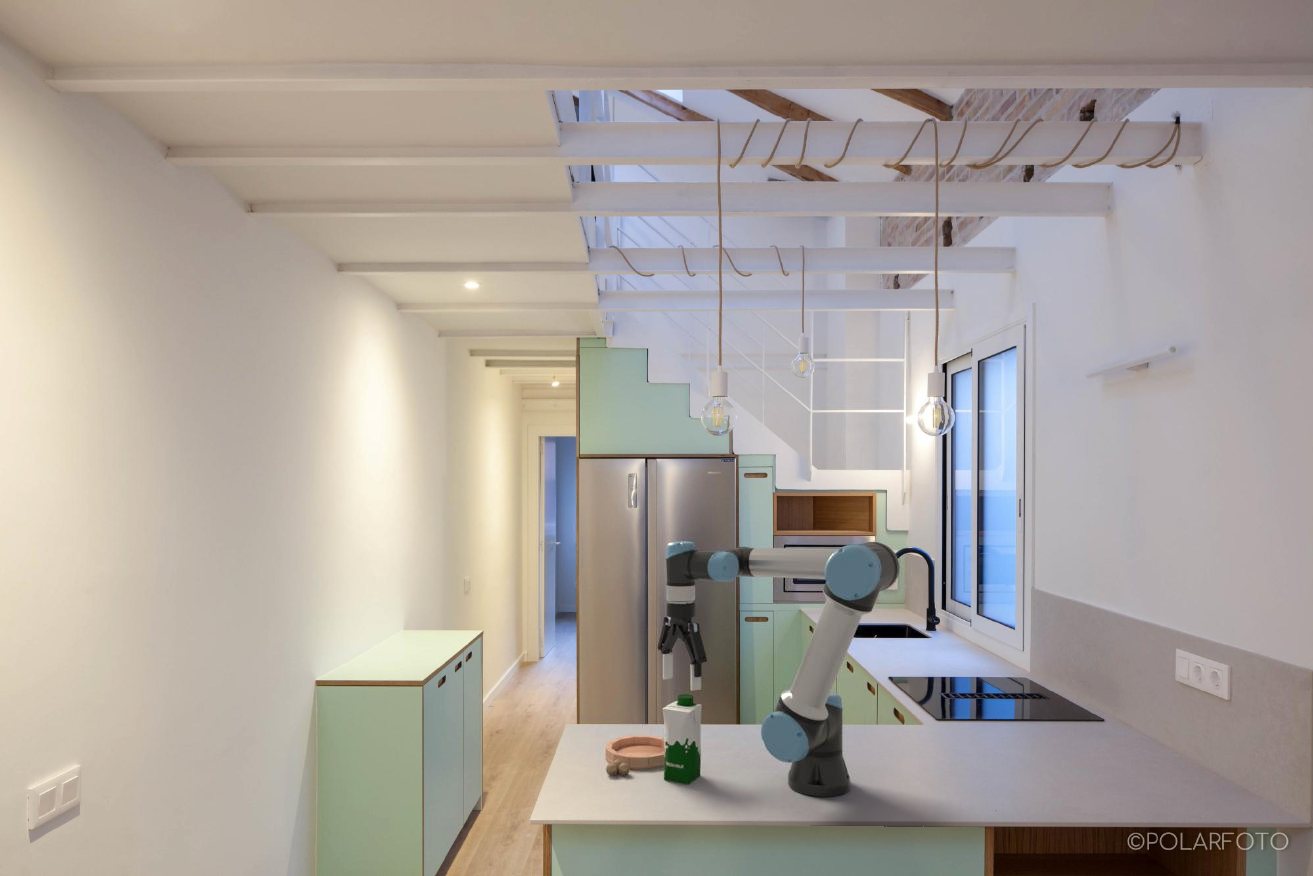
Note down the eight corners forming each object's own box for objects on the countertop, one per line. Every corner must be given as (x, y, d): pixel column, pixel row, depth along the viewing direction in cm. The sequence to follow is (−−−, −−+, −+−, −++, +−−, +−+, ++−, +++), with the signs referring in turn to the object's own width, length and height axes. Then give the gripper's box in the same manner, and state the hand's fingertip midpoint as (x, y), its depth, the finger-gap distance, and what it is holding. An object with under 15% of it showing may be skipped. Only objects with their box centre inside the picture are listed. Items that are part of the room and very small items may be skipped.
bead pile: (631, 775, 211) (631, 764, 211) (611, 779, 209) (611, 767, 209) (621, 768, 217) (621, 757, 217) (601, 772, 214) (601, 760, 214)
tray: (687, 761, 222) (687, 750, 222) (624, 774, 213) (624, 762, 213) (653, 742, 238) (653, 731, 239) (594, 752, 229) (594, 741, 229)
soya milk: (705, 775, 212) (704, 696, 213) (690, 787, 204) (689, 704, 205) (674, 769, 216) (674, 692, 217) (658, 780, 208) (658, 700, 209)
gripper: (720, 606, 206) (721, 692, 205) (668, 594, 227) (668, 672, 226) (695, 608, 202) (695, 696, 201) (644, 596, 224) (645, 676, 223)
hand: (681, 684), depth 214 cm, fingers open, 13 cm apart
